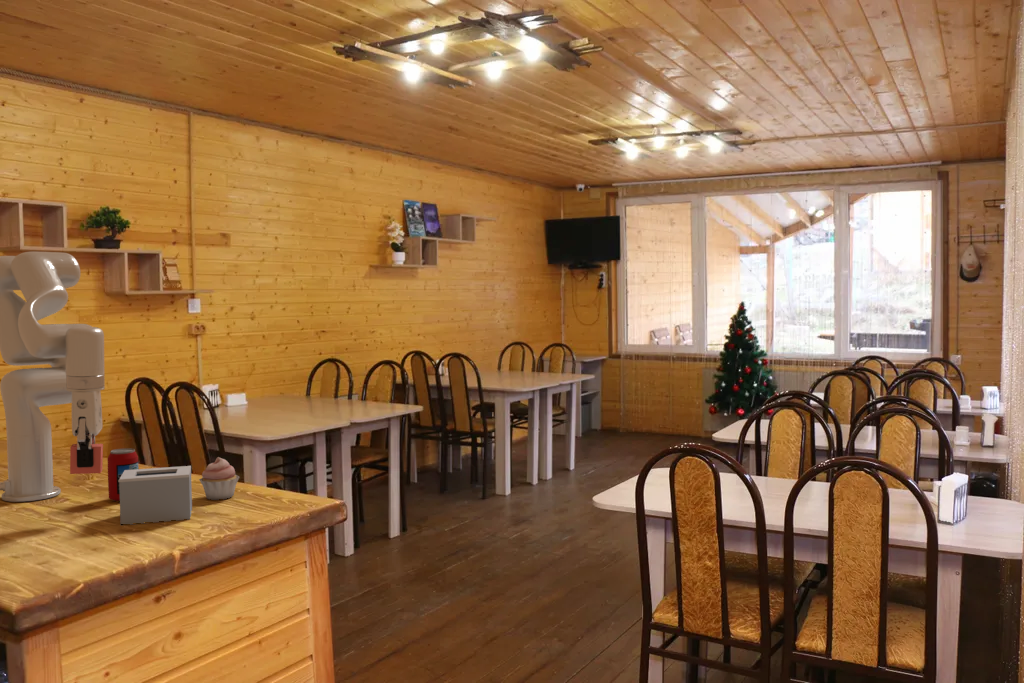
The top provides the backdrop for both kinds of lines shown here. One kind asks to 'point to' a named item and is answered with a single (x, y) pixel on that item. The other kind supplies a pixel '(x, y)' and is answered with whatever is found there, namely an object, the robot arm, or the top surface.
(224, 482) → the cupcake
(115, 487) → the beverage can
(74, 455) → the block
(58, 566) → the top surface
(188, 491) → the grey box
